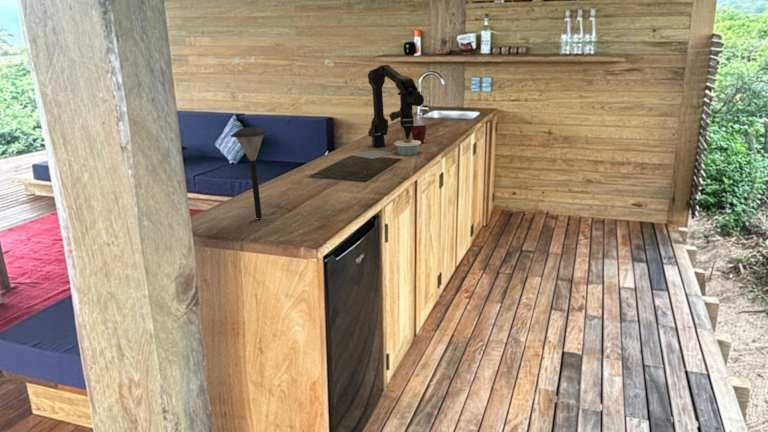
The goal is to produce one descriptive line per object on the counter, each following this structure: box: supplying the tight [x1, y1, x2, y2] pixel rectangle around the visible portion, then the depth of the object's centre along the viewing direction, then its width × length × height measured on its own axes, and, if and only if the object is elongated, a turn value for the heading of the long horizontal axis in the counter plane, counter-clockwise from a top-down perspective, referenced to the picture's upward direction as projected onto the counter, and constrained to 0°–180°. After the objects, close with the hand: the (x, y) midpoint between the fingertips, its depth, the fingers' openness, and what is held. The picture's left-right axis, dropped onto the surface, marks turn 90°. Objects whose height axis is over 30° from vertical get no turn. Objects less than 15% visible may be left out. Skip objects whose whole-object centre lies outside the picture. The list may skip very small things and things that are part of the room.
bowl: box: [396, 145, 420, 156], centre depth 294 cm, size 10×10×5 cm
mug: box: [411, 123, 427, 144], centre depth 320 cm, size 11×8×10 cm
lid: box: [393, 133, 422, 147], centre depth 293 cm, size 13×13×5 cm
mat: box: [352, 149, 397, 160], centre depth 296 cm, size 16×16×1 cm
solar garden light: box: [230, 126, 270, 219], centre depth 194 cm, size 12×12×30 cm
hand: (407, 137), depth 292 cm, fingers open, 9 cm apart
